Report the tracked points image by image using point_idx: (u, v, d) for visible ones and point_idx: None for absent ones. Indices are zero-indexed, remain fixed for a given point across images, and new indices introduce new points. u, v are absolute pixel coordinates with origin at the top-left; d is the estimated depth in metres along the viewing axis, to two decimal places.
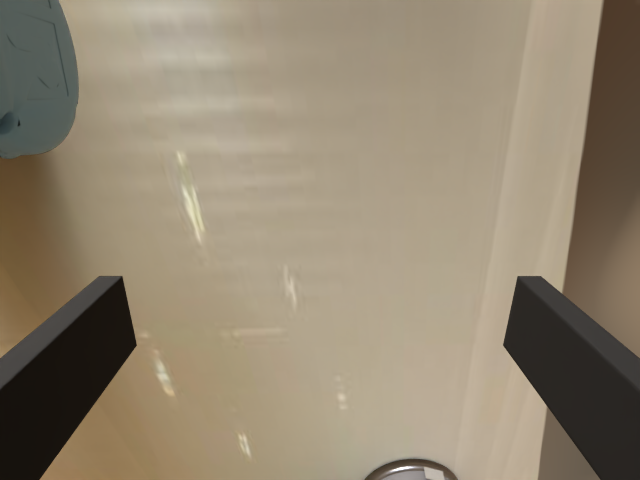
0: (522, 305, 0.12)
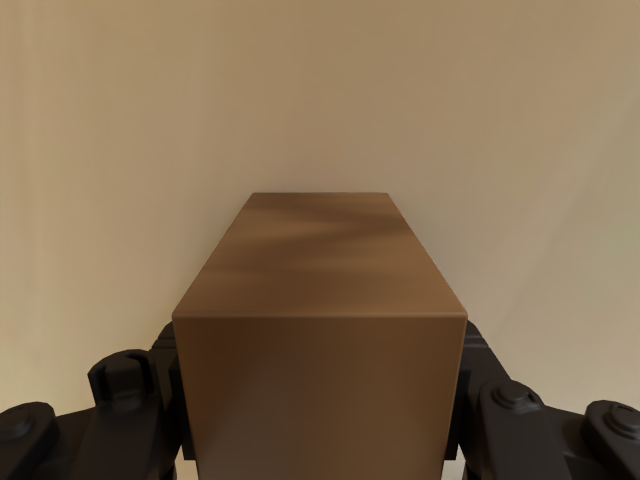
0: None
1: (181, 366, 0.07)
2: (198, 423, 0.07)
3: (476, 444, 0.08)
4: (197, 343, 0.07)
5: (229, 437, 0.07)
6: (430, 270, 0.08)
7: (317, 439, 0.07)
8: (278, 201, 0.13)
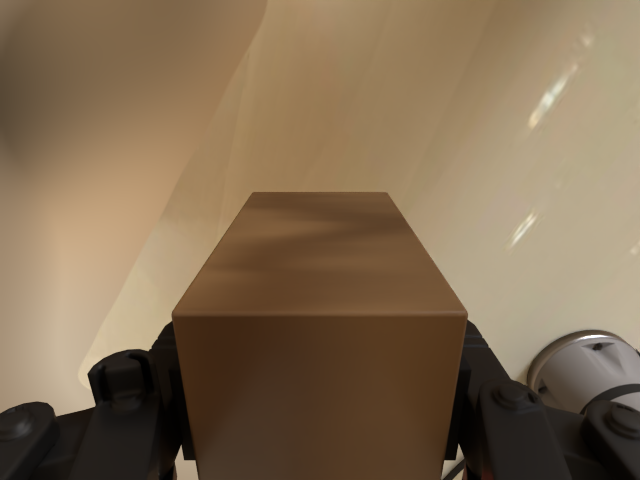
0: None
1: (181, 365, 0.07)
2: (198, 422, 0.07)
3: (476, 444, 0.08)
4: (197, 342, 0.07)
5: (228, 437, 0.07)
6: (430, 269, 0.08)
7: (317, 438, 0.07)
8: (278, 200, 0.13)
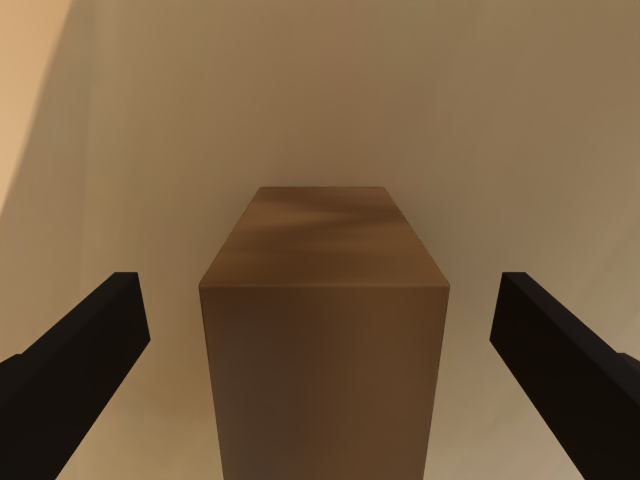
0: (506, 300, 0.12)
1: (205, 330, 0.08)
2: (219, 381, 0.08)
3: None
4: (220, 310, 0.08)
5: (245, 394, 0.09)
6: (420, 251, 0.09)
7: (321, 396, 0.09)
8: (284, 194, 0.14)
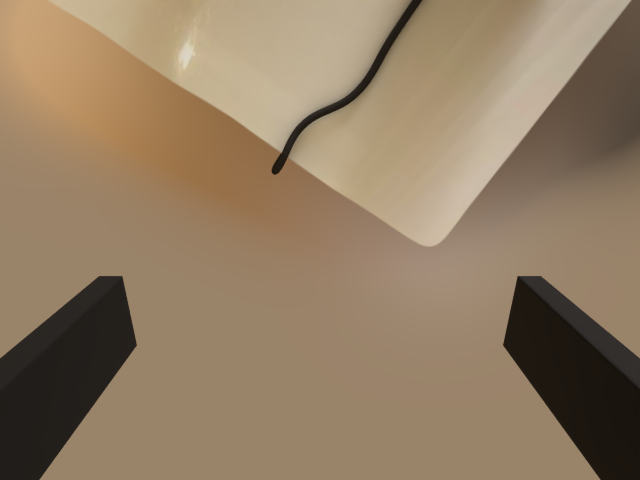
0: (522, 305, 0.12)
1: None
2: None
3: None
4: None
5: None
6: None
7: None
8: None
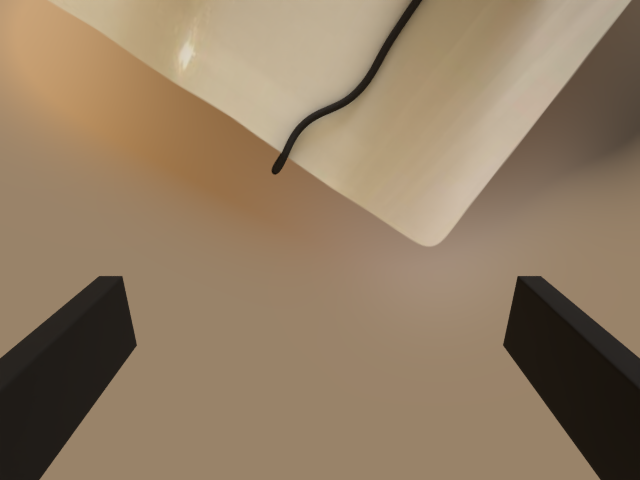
0: (522, 305, 0.12)
1: None
2: None
3: None
4: None
5: None
6: None
7: None
8: None
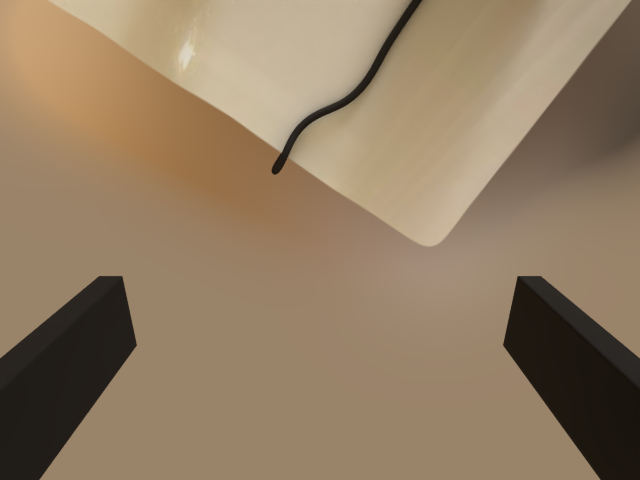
0: (522, 305, 0.12)
1: None
2: None
3: None
4: None
5: None
6: None
7: None
8: None
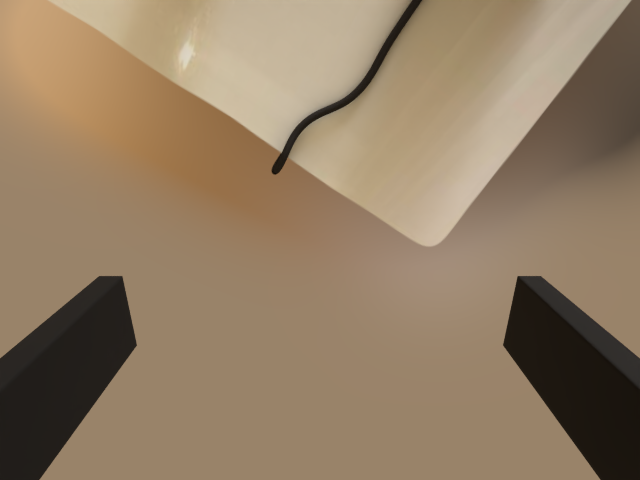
0: (522, 305, 0.12)
1: None
2: None
3: None
4: None
5: None
6: None
7: None
8: None
